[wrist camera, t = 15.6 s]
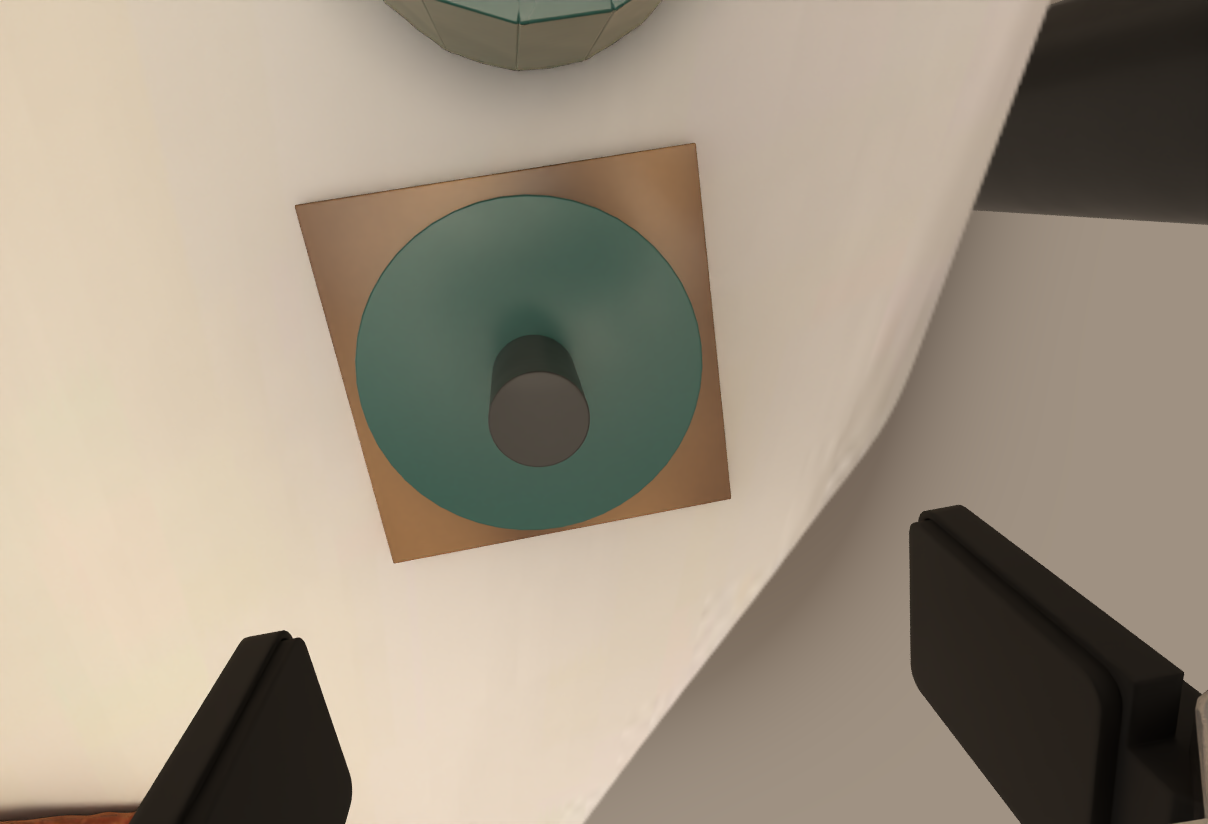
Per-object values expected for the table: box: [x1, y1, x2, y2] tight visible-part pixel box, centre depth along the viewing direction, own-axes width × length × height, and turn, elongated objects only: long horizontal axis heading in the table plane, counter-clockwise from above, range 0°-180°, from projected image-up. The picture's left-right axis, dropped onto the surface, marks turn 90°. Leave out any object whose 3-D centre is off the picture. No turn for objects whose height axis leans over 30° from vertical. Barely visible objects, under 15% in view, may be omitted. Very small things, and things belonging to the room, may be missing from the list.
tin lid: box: [355, 194, 702, 530], centre depth 26 cm, size 13×13×7 cm
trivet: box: [295, 143, 731, 563], centre depth 29 cm, size 15×15×1 cm
